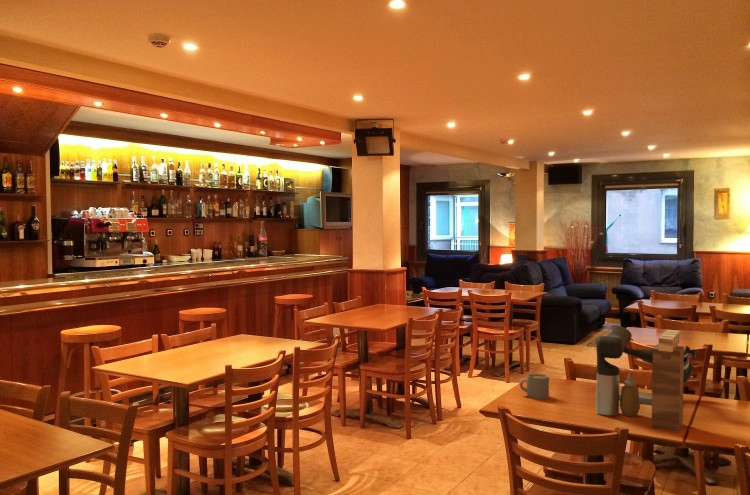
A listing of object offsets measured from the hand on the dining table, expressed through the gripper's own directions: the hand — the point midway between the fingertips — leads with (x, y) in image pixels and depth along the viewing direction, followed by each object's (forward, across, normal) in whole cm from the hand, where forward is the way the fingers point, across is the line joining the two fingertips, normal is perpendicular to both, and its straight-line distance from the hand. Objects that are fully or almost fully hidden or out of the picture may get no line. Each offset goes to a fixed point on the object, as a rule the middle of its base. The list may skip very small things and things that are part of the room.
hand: (675, 346), depth 274 cm
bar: (+19, 0, -7) cm, 20 cm away
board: (-25, +13, -18) cm, 34 cm away
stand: (+6, 0, -36) cm, 37 cm away
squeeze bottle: (-2, +16, -32) cm, 36 cm away
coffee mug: (-9, +60, -28) cm, 67 cm away
